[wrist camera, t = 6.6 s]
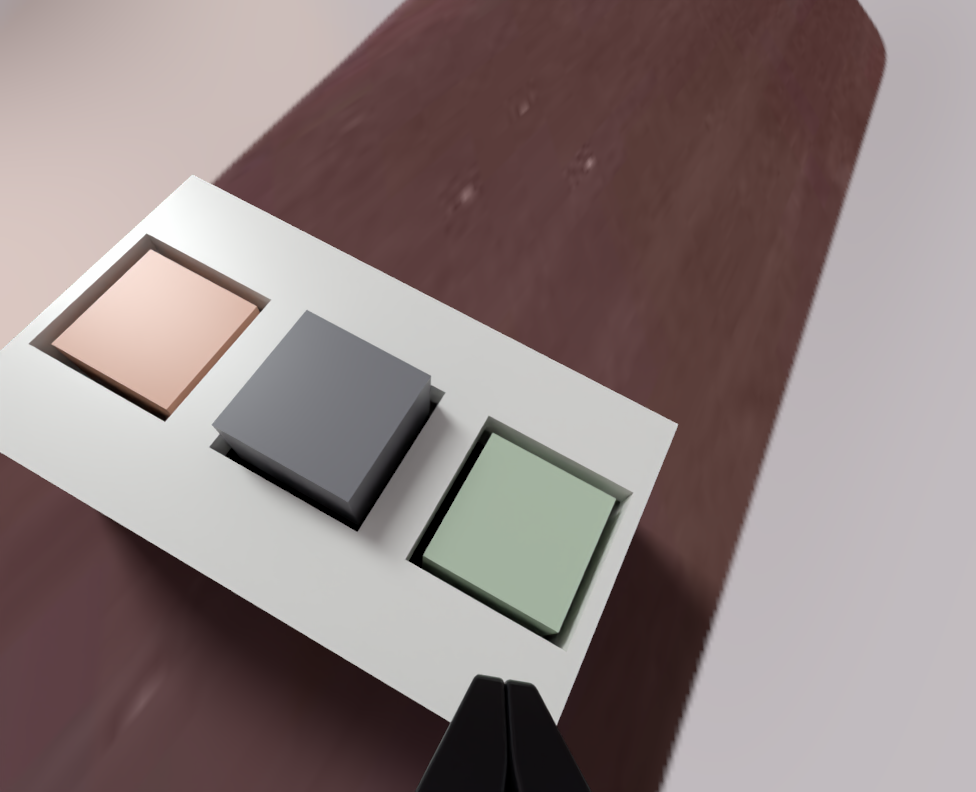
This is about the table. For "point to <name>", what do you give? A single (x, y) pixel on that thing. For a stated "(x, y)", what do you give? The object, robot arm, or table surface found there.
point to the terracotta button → (156, 333)
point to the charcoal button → (328, 415)
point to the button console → (292, 522)
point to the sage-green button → (519, 536)
